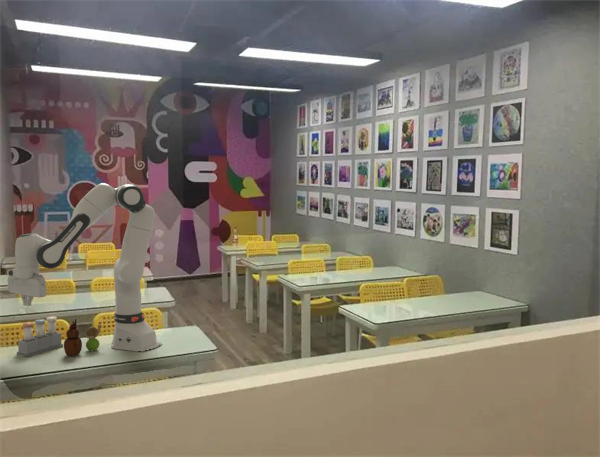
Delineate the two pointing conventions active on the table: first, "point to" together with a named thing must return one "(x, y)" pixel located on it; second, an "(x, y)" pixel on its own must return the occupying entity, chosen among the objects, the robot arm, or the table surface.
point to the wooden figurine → (72, 341)
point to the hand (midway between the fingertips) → (27, 305)
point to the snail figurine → (93, 338)
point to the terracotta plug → (28, 331)
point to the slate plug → (40, 328)
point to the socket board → (39, 345)
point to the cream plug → (51, 325)
